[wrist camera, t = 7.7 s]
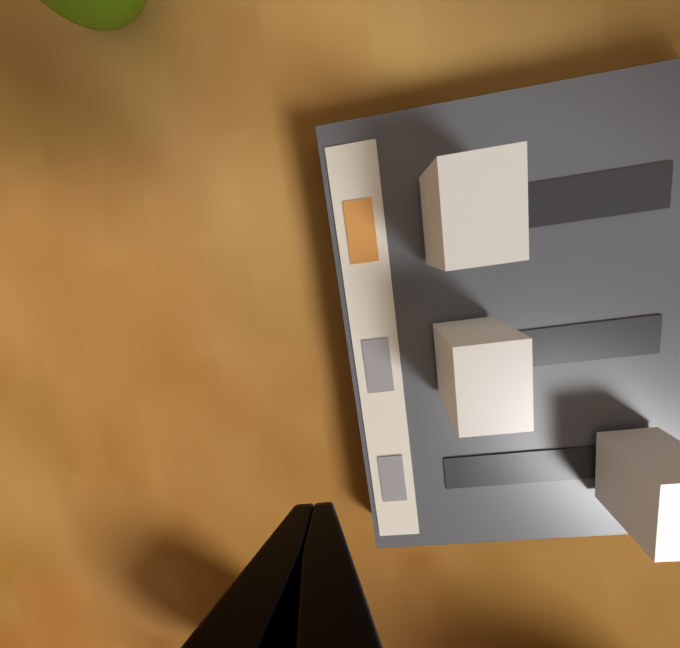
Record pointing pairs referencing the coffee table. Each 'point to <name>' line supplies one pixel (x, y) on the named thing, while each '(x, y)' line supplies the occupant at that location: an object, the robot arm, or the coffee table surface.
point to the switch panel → (513, 301)
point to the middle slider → (485, 376)
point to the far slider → (642, 487)
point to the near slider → (476, 208)
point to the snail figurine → (98, 12)
